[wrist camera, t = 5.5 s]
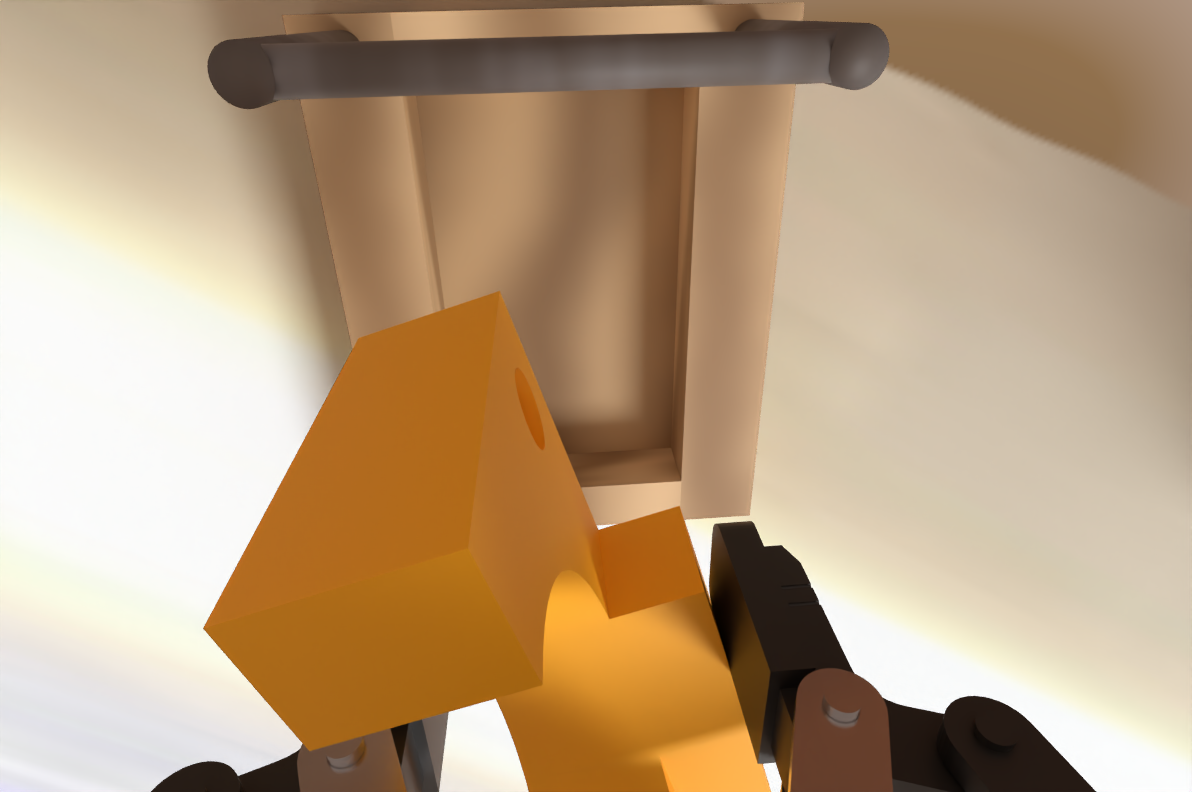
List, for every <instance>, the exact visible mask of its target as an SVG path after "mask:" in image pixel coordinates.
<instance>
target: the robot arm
mask: <svg viewBox="0 0 1192 792" xmlns="http://www.w3.org/2000/svg"><path fill="white" fill-rule="evenodd" d="M709 591H710V600H711V606H712V610H713V613H714V617H715V620H716V623H717V627H718V630H719V633H720V637H721V640H722V643H723V647H724V650H725V654H726V657H727V660H728V664H729V667H730V672H731V675H732V679H733V682H734V686H735V689H736V692H737V696H738V699H739V702H740V706H741V709H742V713H743V716H744V719H745V723H746V726H747V729H748V733H749V736H750V740H751V743H752V746H753V750H754V753H755V756H756V760H757V763H758V764H764V763H774V762H776V765H777V768H778V771H779V774H780V777H781V780H782V784H781V790H780V792H1096V791H1095V790H1094V789H1093V788H1092V787H1091V786H1090V785H1089V784H1088V783H1087V782H1086V780H1085V779H1084V778H1083V777H1082V776H1081V775H1080V774H1079V773H1078V772H1077V771H1076V770H1075V769H1074V768H1073V767H1072V766H1071V765H1070V764H1069V763H1068V762H1067V760H1066V759H1065V758H1064V757H1063V756H1062V755H1061V754H1060V753H1059V752H1058V751H1057V750H1056V749H1055V748H1054V747H1053V746H1052V745H1051V744H1050V743H1049V742H1048V740H1047V739H1046V738H1045V737H1044V736H1043V735H1042V734H1041V733H1040V732H1039V731H1038V730H1037V729H1036V728H1035V727H1034V726H1033V725H1032V724H1031V723H1030V722H1029V721H1028V720H1027V719H1026V718H1025V717H1024V716H1023V715H1021V714H1020V713H1019V712H1017V711H1016V710H1014V709H1013V708H1011V707H1009V706H1008V705H1006V704H1004V703H1001V702H999V701H996V700H993V699H990V698H986V697H980V696H967V697H962V698H959V699H957V700H955V701H953V702H952V703H951V704H950V705H949V706H948V707H947V709H946V711H945V714H941V713H936V712H931V711H927V710H922V709H917V708H912V707H907V706H903V705H899V704H896V703H893V702H891V701H888V700H886V699H884V698H882V696H881V695H880V693H879V692H878V691H877V690H876V688H875V687H873V686H872V685H871V684H870V683H869V682H868V681H866V680H865V679H864V678H862V677H860V676H858V675H856V674H854V672H853V670H852V668H851V667H850V665H849V662H848V660H847V658H846V656H845V654H844V652H843V650H842V648H841V646H840V644H839V642H838V640H837V638H836V635H835V633H834V631H833V629H832V627H831V625H830V623H829V621H828V619H827V617H826V615H825V613H824V610H823V608H822V606H821V605H819V600H818V598H817V596H816V594H815V592H814V590H813V588H811V583H810V581H809V579H808V577H807V575H806V573H805V571H804V569H803V567H802V565H801V563H800V562H799V561H798V560H797V559H796V558H795V557H794V556H793V555H791V554H790V553H789V552H788V551H787V550H786V549H785V548H784V547H783V546H782V545H779V546H766V547H764V545H763V543H762V541H761V538H760V536H759V534H758V531H757V529H756V527H755V525H754V523H753V522H752V521H747V522H733V523H719V524H715V525H714V527H713V533H712V548H711V562H710V577H709ZM447 720H448V712H446V713H443V714H439V715H436V716H432V717H428V718H425V719H421V720H418V721H414V722H411V723H407V724H404V725H400V726H397V727H393V728H390V729H386V730H383V731H379V732H375V733H372V734H368V735H365V736H361V737H358V738H354V739H351V740H347V741H344V742H340V743H337V744H333V745H330V746H326V747H322V748H319V749H315V750H312V751H309V750H308V749H307V748H306V747H305V745H304V744H302V746H301V748H300V749H299V750H298V751H297V752H295V753H293V754H291V755H290V756H288V757H286V758H284V759H281V760H279V761H277V762H274V763H271V764H269V765H266V766H264V767H261V768H258V769H256V770H253V771H250V772H248V773H245V774H243V775H240V776H237V774H236V772H235V771H234V770H233V769H232V768H231V767H230V766H228V765H226V764H224V763H220V762H214V761H207V762H200V763H196V764H193V765H190V766H187V767H185V768H182V769H181V770H179V771H177V772H175V773H173V774H172V775H170V776H169V777H167V778H166V779H164V780H163V781H162V782H161V783H160V784H158V785H157V786H156V787H155V788H154V789H153V790H152V791H151V792H439V787H440V778H441V770H442V762H443V753H444V745H445V737H446V729H447Z"/></svg>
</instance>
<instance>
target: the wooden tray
mask: <svg viewBox="0 0 1192 792" xmlns="http://www.w3.org/2000/svg"><path fill="white" fill-rule="evenodd" d="M803 12H804V2H799V3H798V2H797V3H758V4H715V5H674V6H633V7H592V8H551V9H510V10H469V11H428V12H387V13H346V14H305V15H282V17H283V21H284V26H285V31H286V35H276V36H265V37H254V38H244V39H233V40H226V41H223V42H221V43H219V44H218V45H216V46H215V47H214V49H213V50H212V52H211V53H210V56H209V59H208V74H209V78H210V81H211V83H212V85H213V87H214V89H215V90H216V91H217V93H218V94H219V95H220V96H221V97H222V98H223V99H224V100H226V101H227V102H228V103H230V104H232V105H234V106H236V107H239V108H243V109H254V108H258V107H261V106H264V105H267V104H270V103H272V102H275V101H278V100H295V99H300V102H301V107H302V112H303V117H304V121H305V126H306V131H307V136H308V140H309V145H310V150H311V155H312V160H313V164H314V169H315V174H316V179H317V183H318V188H319V193H320V198H321V202H322V207H323V212H324V217H325V221H326V226H327V231H328V236H329V241H330V245H331V250H332V255H333V260H334V264H335V269H336V274H337V279H338V283H339V288H340V293H341V298H342V302H343V307H344V312H345V317H346V322H347V326H348V331H349V336H350V341H351V345H352V349H353V348H354V346H355V344H356V342H357V340H358V338H360V337H363V336H366V335H369V334H372V333H375V332H378V331H381V330H384V329H387V328H390V327H393V326H396V325H399V324H402V323H405V322H408V321H411V320H414V319H417V318H420V317H423V316H426V315H429V314H432V313H435V312H438V311H441V310H444V309H447V308H450V307H453V306H456V305H459V304H462V303H465V302H468V301H471V300H474V299H477V298H480V297H483V296H486V295H489V294H492V293H495V292H498V291H500V293H501V295H502V298H503V300H504V303H505V305H506V307H507V310H508V312H509V315H510V317H511V320H512V322H513V324H514V327H515V329H516V332H517V334H518V336H519V339H520V341H521V344H522V346H523V349H524V351H525V353H526V356H527V358H528V361H529V363H530V366H531V368H532V370H533V373H534V375H535V378H536V380H537V383H538V385H539V387H540V390H541V392H542V395H543V397H544V400H545V402H546V404H547V407H548V409H549V412H550V414H551V417H552V419H553V421H554V424H555V426H556V429H557V431H558V433H559V436H560V438H561V441H562V443H563V446H564V448H565V450H566V453H567V455H568V458H569V460H570V463H571V465H572V467H573V470H574V472H575V475H576V477H577V480H578V482H579V484H580V487H581V489H582V492H583V494H584V497H585V499H586V501H587V504H588V506H589V509H590V511H591V513H592V516H593V518H594V521H595V523H596V525H609V524H620V523H624V522H627V521H630V520H634V519H637V518H640V517H644V516H647V515H650V514H654V513H657V512H660V511H664V510H667V509H670V508H674V507H677V506H680V508H681V511H682V515H683V518H684V520H686V519H701V518H716V517H731V516H747V515H750V506H751V497H752V488H753V478H754V469H755V460H756V450H757V441H758V432H759V422H760V413H761V404H762V394H763V385H764V376H765V366H766V357H767V348H768V338H769V329H770V320H771V310H772V301H773V292H774V282H775V273H776V264H777V254H778V245H779V236H780V226H781V217H782V208H783V198H784V189H785V180H786V170H787V161H788V152H789V142H790V133H791V124H792V114H793V105H794V96H795V86H796V84H812V83H825V84H829V85H833V86H837V87H841V88H845V89H850V90H859V89H862V88H865V87H867V86H869V85H871V84H872V83H873V82H875V81H876V80H877V79H878V78H879V77H880V75H881V74H882V72H883V71H884V69H885V67H886V64H887V62H888V57H889V43H888V39H887V37H886V35H885V34H884V32H883V31H882V30H881V29H880V28H879V27H877V26H876V25H873V24H870V23H851V22H822V21H803Z"/></svg>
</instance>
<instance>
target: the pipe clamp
mask: <svg viewBox="0 0 1192 792" xmlns="http://www.w3.org/2000/svg"><path fill="white" fill-rule="evenodd" d="M203 629H204V630H205V631H206V632H207V634H208V635H209V636H210V637H211V638H212V639H213V640H214V642H215V643H216V644H217V645H218V646H219V647H220V649H221V650H222V651H223V652H224V653H225V654H226V655H227V657H228V658H229V659H230V660H231V661H232V662H233V664H234V665H235V666H236V667H237V668H238V669H239V670H240V672H241V673H242V674H243V675H244V676H245V677H246V679H247V680H248V681H249V682H250V683H251V684H252V685H253V687H254V688H255V689H256V690H257V691H258V692H259V694H260V695H261V696H262V697H263V698H264V699H265V700H266V702H267V703H268V704H269V705H270V706H271V707H272V709H273V710H274V711H275V712H276V713H277V714H278V715H279V717H280V718H281V719H282V720H283V721H284V722H285V724H286V725H287V726H288V727H289V728H290V729H291V730H292V732H293V733H294V734H295V735H296V736H297V737H298V739H299V740H300V741H301V742H302V743H303V744H304V745H305V747H306V748H307V749H308V750H309V751H312V750H315V749H319V748H322V747H326V746H330V745H333V744H337V743H340V742H344V741H347V740H351V739H354V738H358V737H361V736H365V735H368V734H372V733H375V732H379V731H383V730H386V729H390V728H393V727H397V726H400V725H404V724H407V723H411V722H414V721H418V720H421V719H425V718H428V717H432V716H436V715H439V714H443V713H446V712H450V711H453V710H457V709H460V708H464V707H467V706H471V705H474V704H478V703H481V702H485V701H489V700H492V699H496V700H497V702H498V705H499V707H500V709H501V711H502V713H503V716H504V718H505V721H506V723H507V726H508V728H509V731H510V733H511V736H512V739H513V742H514V744H515V747H516V750H517V753H518V756H519V759H520V763H521V766H522V769H523V772H524V776H525V779H526V783H527V786H528V790H529V792H771V790H770V787H769V783H768V780H767V777H766V773H765V770H764V767H763V764H758V763H757V760H756V756H755V753H754V750H753V746H752V743H751V740H750V736H749V733H748V729H747V726H746V723H745V719H744V716H743V713H742V709H741V706H740V702H739V699H738V696H737V692H736V689H735V686H734V682H733V679H732V675H731V672H730V667H729V664H728V660H727V657H726V654H725V650H724V647H723V643H722V640H721V637H720V633H719V630H718V627H717V623H716V620H715V617H714V613H713V610H712V606H711V600H710V597H709V594H708V591H707V588H706V585H705V582H704V579H703V576H702V572H701V569H700V566H699V563H698V560H697V557H696V554H695V551H694V548H693V545H692V542H691V539H690V536H689V533H688V530H687V527H686V524H685V521H684V518H683V515H682V511H681V508H680V506H677V507H674V508H670V509H667V510H664V511H660V512H657V513H654V514H650V515H647V516H644V517H640V518H637V519H634V520H630V521H627V522H624V523H620V524H617V525H614V526H610V527H607V528H604V529H600V530H598V528H597V526H596V523H595V521H594V518H593V516H592V513H591V511H590V509H589V506H588V504H587V501H586V499H585V497H584V494H583V492H582V489H581V487H580V484H579V482H578V480H577V477H576V475H575V472H574V470H573V467H572V465H571V463H570V460H569V458H568V455H567V453H566V450H565V448H564V446H563V443H562V441H561V438H560V436H559V433H558V431H557V429H556V426H555V424H554V421H553V419H552V417H551V414H550V412H549V409H548V407H547V404H546V402H545V400H544V397H543V395H542V392H541V390H540V387H539V385H538V383H537V380H536V378H535V375H534V373H533V370H532V368H531V366H530V363H529V361H528V358H527V356H526V353H525V351H524V349H523V346H522V344H521V341H520V339H519V336H518V334H517V332H516V329H515V327H514V324H513V322H512V320H511V317H510V315H509V312H508V310H507V307H506V305H505V303H504V300H503V298H502V295H501V293H500V291H498V292H495V293H492V294H489V295H486V296H483V297H480V298H477V299H474V300H471V301H468V302H465V303H462V304H459V305H456V306H453V307H450V308H447V309H444V310H441V311H438V312H435V313H432V314H429V315H426V316H423V317H420V318H417V319H414V320H411V321H408V322H405V323H402V324H399V325H396V326H393V327H390V328H387V329H384V330H381V331H378V332H375V333H372V334H369V335H366V336H363V337H360V338H358V340H357V342H356V344H355V346H354V348H353V349H352V351H351V353H350V355H349V357H348V359H347V361H346V362H345V364H344V366H343V368H342V370H341V372H340V374H339V376H338V377H337V379H336V381H335V383H334V385H333V387H332V389H331V390H330V392H329V394H328V396H327V398H326V400H325V402H324V404H323V405H322V407H321V409H320V411H319V413H318V415H317V417H316V419H315V420H314V422H313V424H312V426H311V428H310V430H309V432H308V433H307V435H306V437H305V439H304V441H303V443H302V445H301V447H300V448H299V450H298V452H297V454H296V456H295V458H294V460H293V462H292V463H291V465H290V467H289V469H288V471H287V473H286V475H285V476H284V478H283V480H282V482H281V484H280V486H279V488H278V490H277V491H276V493H275V495H274V497H273V499H272V501H271V503H270V504H269V506H268V508H267V510H266V512H265V514H264V516H263V518H262V519H261V521H260V523H259V525H258V527H257V529H256V531H255V533H254V534H253V536H252V538H251V540H250V542H249V544H248V546H247V547H246V549H245V551H244V553H243V555H242V557H241V559H240V561H239V562H238V564H237V566H236V568H235V570H234V572H233V574H232V575H231V577H230V579H229V581H228V583H227V585H226V587H225V589H224V590H223V592H222V594H221V596H220V598H219V600H218V602H217V604H216V605H215V607H214V609H213V611H212V613H211V615H210V617H209V618H208V620H207V622H206V624H205V626H204V628H203Z"/></svg>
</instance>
